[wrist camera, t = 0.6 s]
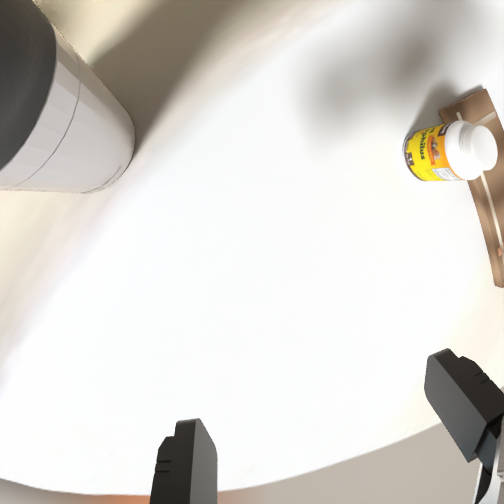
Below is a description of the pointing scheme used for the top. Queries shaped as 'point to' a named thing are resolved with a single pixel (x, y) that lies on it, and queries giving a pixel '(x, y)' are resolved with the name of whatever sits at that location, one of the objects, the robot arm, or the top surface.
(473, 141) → the supplement bottle
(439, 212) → the top surface
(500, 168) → the walnut board
